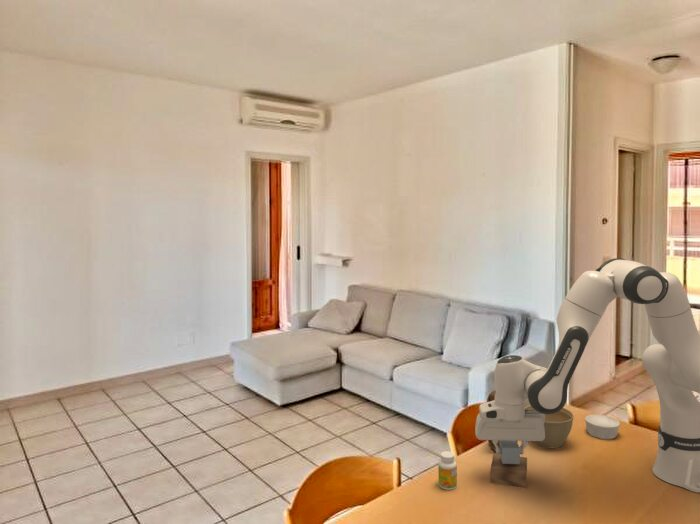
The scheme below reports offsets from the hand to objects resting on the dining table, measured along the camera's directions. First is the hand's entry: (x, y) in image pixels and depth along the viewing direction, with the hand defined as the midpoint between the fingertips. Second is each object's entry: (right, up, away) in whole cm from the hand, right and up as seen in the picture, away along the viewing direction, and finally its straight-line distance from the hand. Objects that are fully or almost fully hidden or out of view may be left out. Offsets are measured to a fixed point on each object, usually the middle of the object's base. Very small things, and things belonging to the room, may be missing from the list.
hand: (509, 453), depth 156 cm
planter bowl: (+21, -5, +24) cm, 32 cm away
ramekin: (+42, -4, +29) cm, 52 cm away
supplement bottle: (-19, -9, -3) cm, 21 cm away
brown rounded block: (+3, -6, +19) cm, 21 cm away
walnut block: (0, -8, +1) cm, 8 cm away
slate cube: (0, -2, 0) cm, 2 cm away
